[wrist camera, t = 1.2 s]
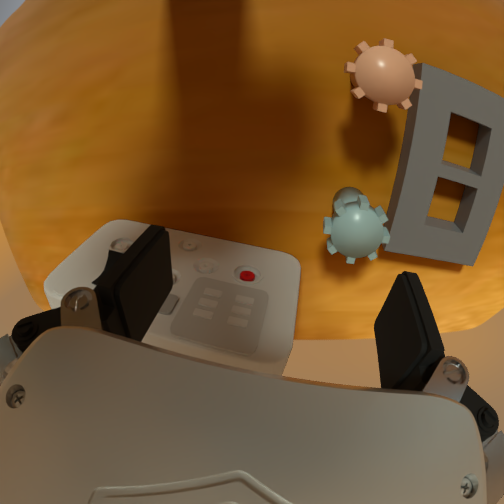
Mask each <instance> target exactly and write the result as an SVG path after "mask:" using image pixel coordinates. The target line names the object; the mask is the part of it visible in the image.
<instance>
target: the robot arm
mask: <svg viewBox="0 0 504 504" xmlns="http://www.w3.org/2000/svg"><path fill="white" fill-rule="evenodd" d="M172 287H173V276H172V264H171V252H170V238H169V232H168V231H166V229H165V227H163V226H157V225H150V226H149V227H148V228H147V229H146V230H145V231H144V232H143V233H142V234H141V235H140V236H139V237H138V238H137V240H136V241H135V242H134V243H133V244H132V245H131V246H130V247H129V248H128V249H127V250H126V251H125V252H124V254H123V255H122V256H121V257H120V258H119V259H118V260H117V261H116V262H115V264H114V265H113V266H112V267H111V268H110V269H109V270H108V271H107V273H106V274H105V275H104V276H103V277H102V278H101V280H100V281H99V282H98V283H97V286H96V287H95V288H94V289H93V290H92V289H91V288H88V287H77V288H74V289H71V290H70V291H68V292H67V293H66V294H65V295H64V296H63V298H62V300H61V307H58V308H55V309H51V310H48V311H45V312H42V313H39V314H35V315H32V316H29V317H26V318H23V319H21V320H20V321H19V322H18V323H17V324H16V325H15V326H14V328H13V330H12V335H11V336H9V335H8V334H6V335H5V336H3V337H1V338H0V504H496V503H497V502H498V501H499V500H500V498H502V496H503V495H504V434H503V432H502V431H499V432H498V431H497V429H498V426H499V420H498V415H497V413H496V411H495V410H494V409H493V408H492V407H491V406H490V405H489V404H488V403H487V402H486V401H485V400H484V399H482V398H481V397H480V396H479V395H478V394H477V393H476V392H475V391H473V390H472V389H471V388H470V387H469V386H468V385H467V384H468V381H469V372H468V370H467V367H466V366H465V364H464V363H463V362H462V361H461V360H459V359H457V358H456V357H452V356H447V357H445V354H444V346H443V343H442V340H441V337H440V334H439V331H438V328H437V325H436V322H435V319H434V316H433V313H432V310H431V308H430V305H429V302H428V300H427V297H426V294H425V292H424V289H423V287H422V284H421V282H420V279H419V277H418V275H417V274H416V273H412V272H407V271H404V272H403V273H402V274H398V276H397V278H396V280H395V282H394V284H393V286H392V288H391V290H390V293H389V295H388V297H387V299H386V301H385V303H384V305H383V307H382V309H381V311H380V313H379V315H378V317H377V318H376V321H375V324H374V331H375V338H376V346H377V353H378V362H379V371H380V381H381V388H372V387H361V386H351V385H341V384H332V383H325V382H317V381H310V380H303V379H297V378H291V377H285V376H279V375H273V374H268V373H263V372H257V371H252V370H248V369H243V368H238V367H233V366H229V365H225V364H220V363H216V362H212V361H208V360H204V359H200V358H196V357H192V356H188V355H184V354H181V353H177V352H173V351H170V350H167V349H163V348H160V347H156V346H153V345H149V344H146V343H143V342H141V341H142V340H143V338H144V336H145V334H146V333H147V331H148V329H149V327H150V326H151V324H152V322H153V320H154V319H155V317H156V315H157V314H158V312H159V310H160V308H161V307H162V305H163V303H164V302H165V300H166V298H167V297H168V295H169V293H170V292H171V290H172Z"/></svg>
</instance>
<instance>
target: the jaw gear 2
mask: <svg viewBox="0 0 504 504" xmlns="http://www.w3.org/2000/svg"><path fill="white" fill-rule="evenodd" d="M333 209H334V214H333V216H332V218H330V217H324V221H323V233H325V234H331V237H329V238H328V239H327V249H328V251H329V252H330V253H331V254H334V253H336V252H337V251H338V252H340V253H341V254H343V255H345V257H346V263H350V264H354V262H355V258H362V257H365V256H368V257H369V259H370V260H373V259H375V258H376V257H377V254H376V250H377V249H378V247H379V246H380V244H381V243H387V244H388V243H389V240H390V234H389V232H388V230H387V228H386V227H383V225H382V224H383V223H385V222H386V221H388V218H387V216H386V214H385V212H384V210H383V209H382V207H381V206H378V207H377V208H375V209H374V208H373V207H371V206H370V205H369V201H368V199H367V197H366V196H364V195H363V194H362V192H361V191H360V190H358V189H356V188H354V187H345V188H342V189H340V190H339V191H338V192H337V193H336V194H335V196H334V198H333ZM381 222H382V223H381Z"/></svg>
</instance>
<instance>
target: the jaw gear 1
mask: <svg viewBox="0 0 504 504" xmlns="http://www.w3.org/2000/svg"><path fill="white" fill-rule="evenodd" d="M368 48H369V49H368ZM354 50H355V51H356V52H357V53H358V54H360V55H359V56H358V57H357V58H356V60H355V61H354V63H350V62H347V63H345V66H344V72H345V73H350V80H351V83H352V85H353V86H354V89H352V90H351V91H350V92H351V93H352V94H353V95H354V97H355V98H358V99H360V98H361V97H363V96H365V97H366V98H368V99H370V100H372V101H374V102H373V109H374V110H377V111H381V112H385V113H387V105H393V104H397V106H398V107H399V108H401V109H404V110H406V109H408V108H409V107H411V106H412V104H411V102H410V101H409V99H408V97H409V96H410V95H411V93H412V91H413V89H422V83H423V81H421V80H418V79H415V74H414V70H413V68H412V66H411V65H412V64H413V63H415V62H416V61H417V60H416V59H415V57H414V56H413V55H412V53H411V54H407V55H403V54H402V53H400V52H399V51H397V50H395V49H393V41H392V40H389V39H385V38H384V39H382V40H381V41H379V46H374V47H371V48H370V47H369V46H368V45H367V43H366V42H365V41H363V42H362V43H360V44H359V45H357V46H356V47H355V48H354ZM386 104H387V105H386Z"/></svg>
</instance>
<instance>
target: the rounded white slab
mask: <svg viewBox="0 0 504 504" xmlns="http://www.w3.org/2000/svg"><path fill="white" fill-rule="evenodd" d="M149 226H150V224H145V223H140V222H135V221H130V220H115V221H110V222H109V223H107V224H105V225H104V226H102V227H101V228H100V229H99V230H98V231H96V232H95V233H94V234H93V235H92V236H91V237H89V238H88V239H87V240H86V241H85V242H84V243H83V244H81V245H80V246H79V247H78V248H77V249H76V250H75V251H74V252H73V253H72V254H70V255H69V256H68V257H67V258H66V259H65V260H64V261H63V262H62V263H61V264H60V265H59V266H58V267H57V268H56V269H54V270H53V271H52V272H51V273H50V274H49V276H48V277H47V279H46V280H45V282H44V291H45V294H46V296H47V299H48V301H49V304H50V306H51V308H52V309H55V308H58V307H61V300H62V298H63V296H64V295H65V294H66V293H67V292H68V291H70V290H71V289H74V288H77V287H88V288H91V289H92V290H93V289H94V288H95V287H96V286H97V283H98V282H99V281H100V280H101V278H102V277H103V276H104V275H105V274H106V273H107V271H108V270H109V269H110V268H111V267H112V266H113V265H114V264H115V262H116V261H117V260H118V259H119V258H120V257H121V256H122V255H123V254H124V252H125V251H126V250H127V249H128V248H129V247H130V246H131V245H132V244H133V243H134V242H135V241H136V240H137V238H138V237H139V236H140V235H141V234H142V233H143V232H144V231H145V230H146V229H147V228H148V227H149ZM165 229H166V231H168V232H169V238H170V252H171V264H172V276H173V287H172V290H171V292H170V293H169V295H168V297H167V298H166V300H165V302H164V303H163V305H162V307H161V308H160V310H159V312H158V314H157V315H156V317H155V319H154V320H153V322H152V324H151V326H150V327H149V329H148V331H147V333H146V334H145V336H144V338H143V340H142V341H141V342H143V343H146V344H149V345H153V346H156V347H160V348H163V349H167V350H170V351H173V352H177V353H181V354H184V355H188V356H192V357H196V358H200V359H204V360H208V361H212V362H216V363H220V364H225V365H229V366H233V367H238V368H243V369H248V370H252V371H257V372H263V373H268V374H273V375H279V376H282V373H283V371H284V368H285V366H286V363H287V360H288V358H289V355H290V352H291V350H292V346H293V338H294V330H295V322H296V313H297V304H298V294H299V285H300V274H301V266H300V263H299V261H298V260H297V259H296V258H295V257H293V256H292V255H290V254H287V253H284V252H281V251H276V250H271V249H266V248H262V247H257V246H252V245H247V244H242V243H237V242H233V241H228V240H223V239H218V238H213V237H208V236H204V235H199V234H194V233H189V232H184V231H179V230H174V229H169V228H165Z"/></svg>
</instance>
